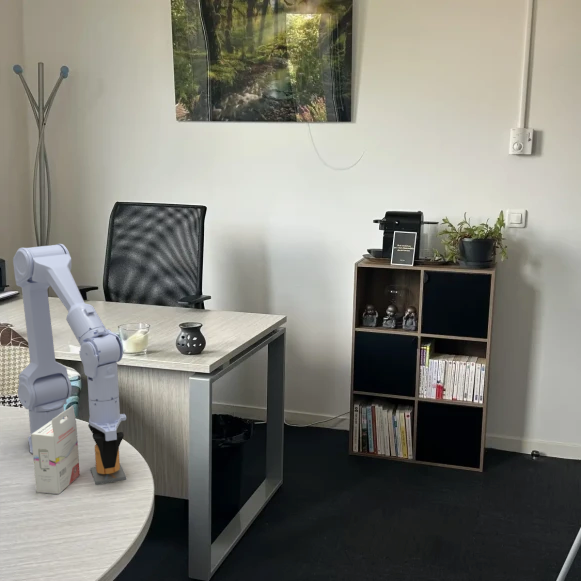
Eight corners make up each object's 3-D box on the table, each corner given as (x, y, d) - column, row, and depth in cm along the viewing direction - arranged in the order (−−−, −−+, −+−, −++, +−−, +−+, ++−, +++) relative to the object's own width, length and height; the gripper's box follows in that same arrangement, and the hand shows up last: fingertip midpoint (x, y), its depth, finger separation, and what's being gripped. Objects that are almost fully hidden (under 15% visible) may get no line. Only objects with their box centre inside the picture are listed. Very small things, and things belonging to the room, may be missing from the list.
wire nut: (94, 466, 146) (93, 442, 145) (117, 462, 148) (116, 439, 147) (97, 475, 142) (96, 451, 141) (121, 471, 144) (120, 447, 143)
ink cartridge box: (57, 473, 146) (52, 402, 143) (80, 475, 145) (76, 404, 142) (34, 492, 137) (28, 418, 135) (58, 495, 136) (53, 420, 134)
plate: (90, 470, 147) (89, 455, 146) (119, 465, 149) (119, 451, 149) (95, 484, 141) (94, 469, 140) (126, 479, 143) (125, 464, 142)
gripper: (131, 405, 137) (134, 473, 139) (118, 383, 150) (121, 446, 153) (92, 410, 134) (96, 479, 137) (82, 387, 147) (86, 451, 150)
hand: (107, 462), depth 144 cm, fingers closed on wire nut, 4 cm apart
